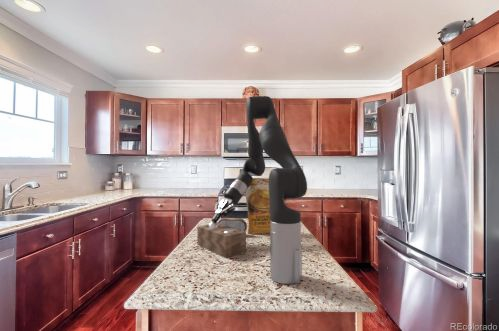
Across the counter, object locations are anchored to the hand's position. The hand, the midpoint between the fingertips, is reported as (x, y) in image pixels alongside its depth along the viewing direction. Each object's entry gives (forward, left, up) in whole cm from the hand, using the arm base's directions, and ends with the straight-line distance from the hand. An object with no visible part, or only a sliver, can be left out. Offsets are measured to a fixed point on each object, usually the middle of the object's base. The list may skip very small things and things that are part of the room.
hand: (213, 221), depth 109 cm
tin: (-1, -18, -10) cm, 21 cm away
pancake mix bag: (-14, -28, -10) cm, 33 cm away
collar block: (-5, +3, -10) cm, 12 cm away
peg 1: (0, 0, -9) cm, 9 cm away
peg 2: (-10, +5, -10) cm, 15 cm away
